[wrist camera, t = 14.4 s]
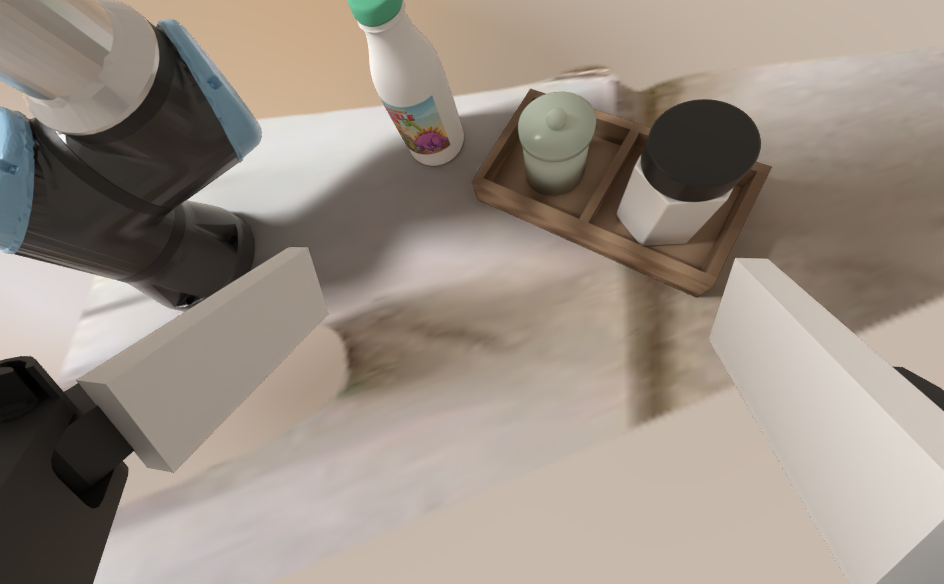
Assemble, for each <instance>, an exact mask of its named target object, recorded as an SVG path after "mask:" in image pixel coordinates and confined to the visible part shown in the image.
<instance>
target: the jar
mask: <svg viewBox="0 0 944 584" xmlns="http://www.w3.org/2000/svg"><path fill="white" fill-rule="evenodd" d="M760 148H761V139H760V134H759V131H758V129H757V127H756V125H755V123H754V122H753V120H752V119H751V118H750V117H749V116H748V115H747V114H746V113H745V112H743V111H742V110H740V109H739V108H737V107H735V106H733V105H731V104H728V103H725V102H722V101H717V100H708V99H701V100H692V101H687V102H683V103H681V104H678V105H676V106H673V107H672V108H670V109H668V110H667V111H665V112H664V113H663V114H662V115H660V116H659V117H658V119H657V120H656V121H655V122H654V124H653V125H652V127H651V129H650V131H649V134H648V136H647V139H646V142H645V144H644V147H643V149H642V153H641V155H640V157H639V159H638V161H637V163H636V165H635V166H634V169H633V172H632V174H631V177H630V179H629V182H628V185H627V187H626V190H625V192H624V195H623V197H622V200H621V203H620V205H619V208H618V210H617V213H616V216H617V217H618V218H619V220H620V221H621V222H622V223H623V225H624V226H625V227H626V228H627V229H628V231H629V232H630V233H631V234H632V236H633V237H634V238H635V239H636V241H637V242H638V243H639V244H640V245H641V246H651V245H669V244H685V243H687V242H688V241H689V240H690V239H691V238H692V237H693V236H694V235H695V234H696V233H697V232H698V231H699V230H700V228H701V227H702V226H703V225H704V224H705V223H706V222H707V221H708V220H709V219H710V218H711V217H712V216H713V215H714V213H715V212H716V211H717V210H718V209H719V208H720V207H721V206H722V205H723V204H724V203H725V202H726V201H727V200H728V198H729V196H730V194H731V192H732V190H733V188H734V187H735V186H736V184H737V183H738V182H739V181H740V180H741V179H742V178H743V177H744V176H745V175H746V173H747V172H748V171H749V170H750V169H751V168H752V167H753V165H754V164H755V162H756V160H757V158H758V156H759V153H760Z"/></svg>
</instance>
